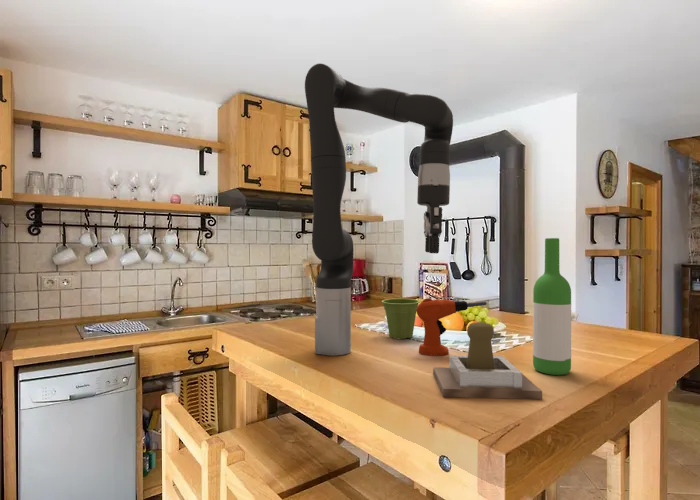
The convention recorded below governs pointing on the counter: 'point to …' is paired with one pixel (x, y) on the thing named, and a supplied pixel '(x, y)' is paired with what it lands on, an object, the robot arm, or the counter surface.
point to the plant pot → (400, 317)
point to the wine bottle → (552, 316)
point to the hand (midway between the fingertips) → (431, 252)
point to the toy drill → (438, 322)
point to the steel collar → (485, 374)
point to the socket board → (452, 388)
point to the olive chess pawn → (480, 346)
